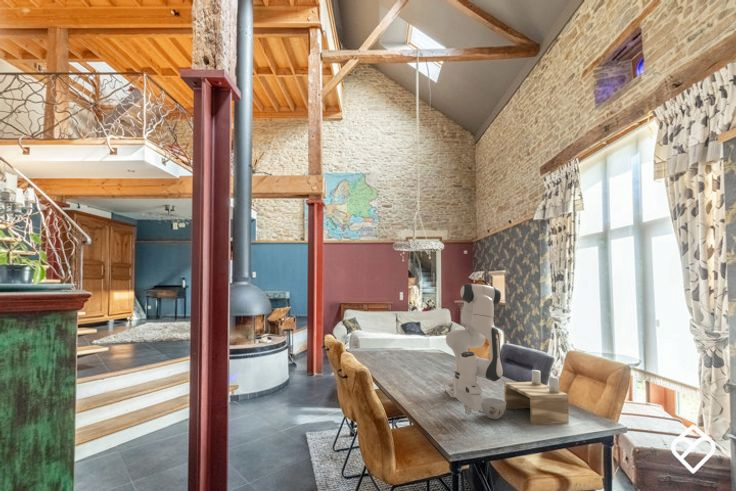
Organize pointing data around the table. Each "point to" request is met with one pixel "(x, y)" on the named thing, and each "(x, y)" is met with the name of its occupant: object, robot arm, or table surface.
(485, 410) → the teacup
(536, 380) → the rounded upright piece
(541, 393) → the wooden bridge shelf
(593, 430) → the table surface
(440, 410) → the table surface
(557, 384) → the grey upright piece
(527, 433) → the table surface
